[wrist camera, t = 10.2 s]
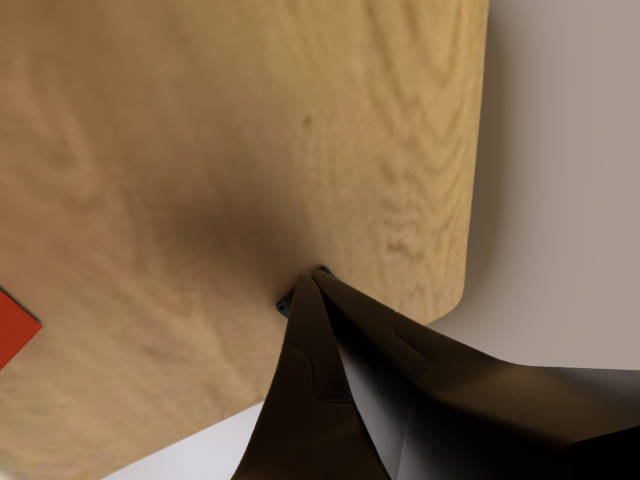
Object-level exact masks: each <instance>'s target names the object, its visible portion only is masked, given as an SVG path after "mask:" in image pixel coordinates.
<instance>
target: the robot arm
mask: <svg viewBox="0 0 640 480" xmlns="http://www.w3.org/2000/svg"><path fill="white" fill-rule="evenodd" d="M323 271H326V272H323ZM280 306H283V307H280ZM276 307H277V310H278V311H279V312H280V313H281V314H283V315H284V316H285V317H286V318H288V323H287V328H286V332H285V336H284V341H283V344H282V349H281V353H280V357H279V361H278V364H277V368H276V371H275V374H274V377H273V380H272V383H271V386H270V389H269V391H268V394H267V396H266V399H265V402H264V404H263V407H262V410H261V412H260V415H259V417H258V420H257V423H256V425H255V428H254V430H253V433H252V435H251V438H250V441H249V443H248V446H247V448H246V451H245V453H244V455H243V457H242V459H241V461H240V464H239V465H238V468H237V469H236V471H235V473H234V475H233V476H232V478H231V480H640V370H617V369H592V368H565V367H542V366H526V365H519V364H514V363H509V362H506V361H503V360H500V359H497V358H495V357H492V356H490V355H488V354H485V353H483V352H481V351H479V350H476V349H474V348H472V347H470V346H467V345H465V344H463V343H461V342H458V341H456V340H454V339H451V338H449V337H447V336H445V335H443V334H440V333H438V332H436V331H434V330H432V329H430V328H427V327H425V326H423V325H421V324H419V323H417V322H416V321H414V320H412V319H410V318H408V317H406V316H404V315H402V314H400V313H399V312H396V313H395V310H393V309H391V308H389V307H387V306H386V305H384V304H382V303H380V302H378V301H376V300H375V299H373V298H371V297H369V296H367V295H365V294H364V293H362V292H360V291H358V290H356V289H355V288H353V287H351V286H349V285H347V284H345V283H344V282H342V281H340V280H338V279H337V278H336V277H335V276H334V275H333V274H332V273H331V272H330V271H329V270H328V269H327V268H326V267H322V268H320V269H319V270H318V271H315V272H311V274H310V273H306V274H301V275H299V276H298V279H297V283H296V288H295V289H293V290H292V291H291V292H290V293H289V294H288V295H287V296H285V297H284V298H283V299H282V300H281V301H279V302H278V303H277V305H276Z"/></svg>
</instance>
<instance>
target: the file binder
mask: <svg viewBox="0 0 640 480" xmlns="http://www.w3.org/2000/svg"><path fill="white" fill-rule="evenodd" d="M41 328H42V326H41V325H40V324H39V323H38V322H37V321H35V320H34V319H33V318H32V317H31V316H30V315H28V314H27V313H26V312H25V311H24V310H23V309H22V308H20V307H19V306H18V305H17V304H16V303H15V302H13V301H12V300H11V299H10V298H9V297H8V296H6V295H5V294H4V293H3V292H2V291H1V290H0V370H1V369H2V368H3V367H4V366H5V365H6V364H7V363H8V362H9V361H10V360H11V359H12V358H13V357H14V356H15V355H16V354H17V353H18V352H19V351H20V350H21V349H22V348H23V347H24V346H25V345H26V344H27V343H28V342H29V341H30V340H31V338H32V337H33V336H34V335H35V334H36V333H37V332H38V331H39V330H40V329H41Z"/></svg>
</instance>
